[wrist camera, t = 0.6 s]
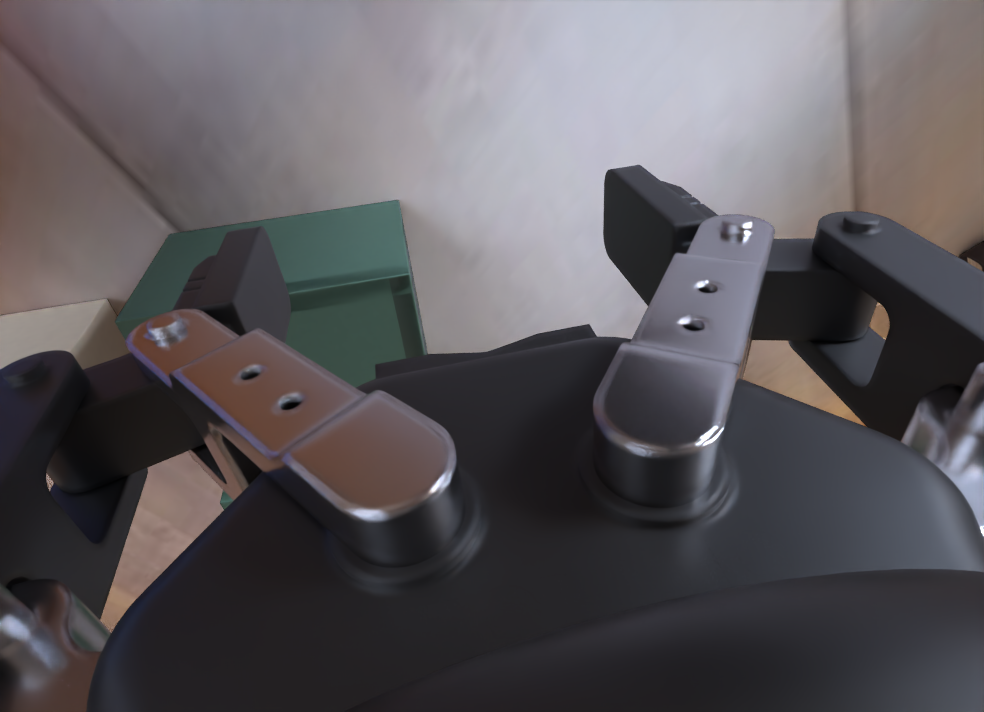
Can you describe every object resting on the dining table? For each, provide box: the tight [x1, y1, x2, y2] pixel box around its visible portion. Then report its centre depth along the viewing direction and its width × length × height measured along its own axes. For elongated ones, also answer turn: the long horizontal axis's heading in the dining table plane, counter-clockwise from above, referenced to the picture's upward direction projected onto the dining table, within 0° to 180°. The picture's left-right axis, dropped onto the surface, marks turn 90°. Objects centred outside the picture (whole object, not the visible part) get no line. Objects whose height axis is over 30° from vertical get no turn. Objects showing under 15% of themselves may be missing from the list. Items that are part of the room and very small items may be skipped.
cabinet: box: [115, 200, 428, 510], centre depth 34 cm, size 24×12×8 cm, turn 5°
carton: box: [0, 299, 130, 369], centre depth 30 cm, size 6×9×6 cm
